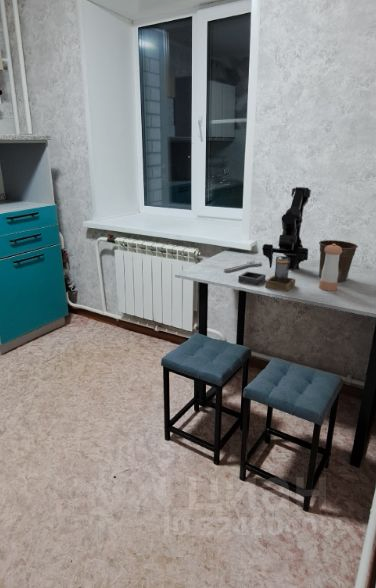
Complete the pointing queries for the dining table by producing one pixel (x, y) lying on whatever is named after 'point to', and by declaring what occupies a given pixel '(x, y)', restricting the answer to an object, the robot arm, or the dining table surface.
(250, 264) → the adjustable wrench
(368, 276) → the dining table surface
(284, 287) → the wooden square frame
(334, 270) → the pepper shaker
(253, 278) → the socket block
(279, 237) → the robot arm
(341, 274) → the plant pot
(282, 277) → the brass-banded metal cylinder
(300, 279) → the dining table surface
